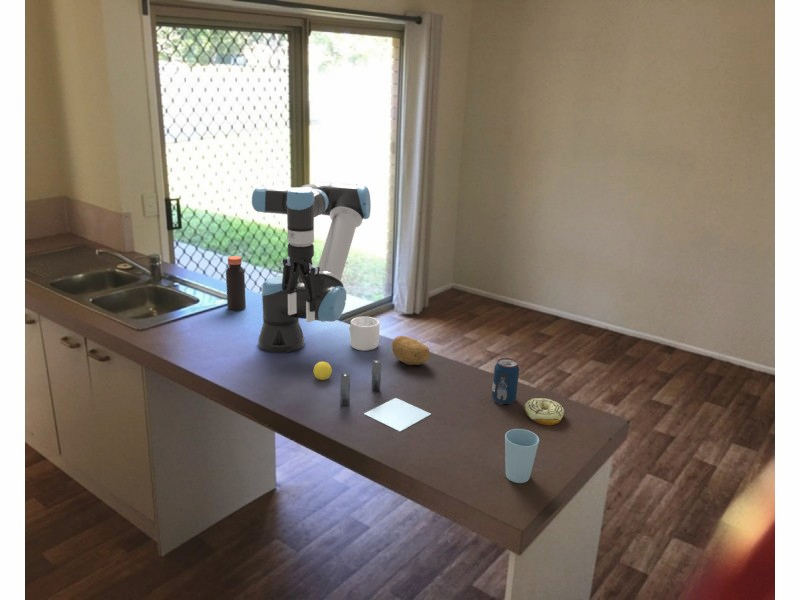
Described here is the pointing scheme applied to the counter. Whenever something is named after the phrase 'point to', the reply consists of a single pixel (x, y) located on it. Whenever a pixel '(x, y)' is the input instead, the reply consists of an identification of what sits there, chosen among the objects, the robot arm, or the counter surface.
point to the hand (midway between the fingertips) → (301, 317)
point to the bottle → (235, 284)
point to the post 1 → (345, 390)
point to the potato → (410, 350)
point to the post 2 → (376, 375)
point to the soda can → (505, 381)
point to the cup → (520, 454)
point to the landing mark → (397, 414)
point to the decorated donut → (544, 411)
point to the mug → (364, 333)
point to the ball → (322, 370)
